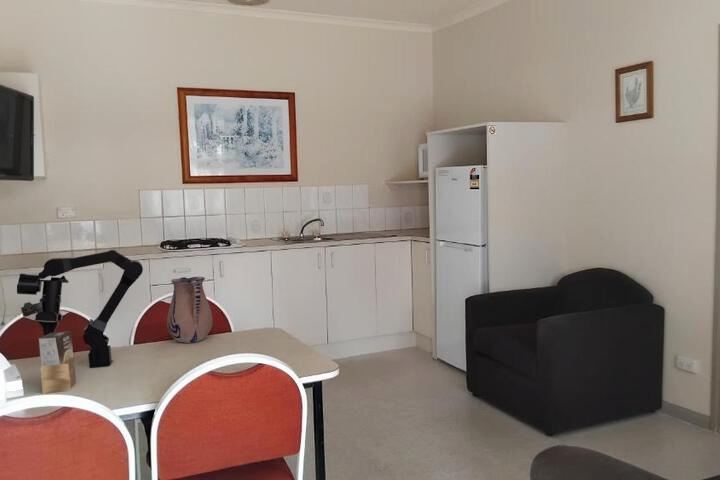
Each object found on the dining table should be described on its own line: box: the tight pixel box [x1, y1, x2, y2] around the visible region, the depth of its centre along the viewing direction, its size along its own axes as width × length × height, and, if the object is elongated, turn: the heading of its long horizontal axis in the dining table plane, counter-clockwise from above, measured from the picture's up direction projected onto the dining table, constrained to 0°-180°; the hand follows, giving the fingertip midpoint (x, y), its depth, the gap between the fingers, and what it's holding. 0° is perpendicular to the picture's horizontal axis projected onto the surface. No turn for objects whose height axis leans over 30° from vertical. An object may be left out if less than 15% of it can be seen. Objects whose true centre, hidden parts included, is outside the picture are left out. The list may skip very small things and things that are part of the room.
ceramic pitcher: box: [166, 276, 214, 344], centre depth 244 cm, size 18×21×25 cm
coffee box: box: [38, 330, 74, 367], centre depth 191 cm, size 9×6×16 cm
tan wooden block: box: [39, 356, 77, 394], centre depth 188 cm, size 8×9×8 cm
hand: (46, 342), depth 206 cm, fingers closed
